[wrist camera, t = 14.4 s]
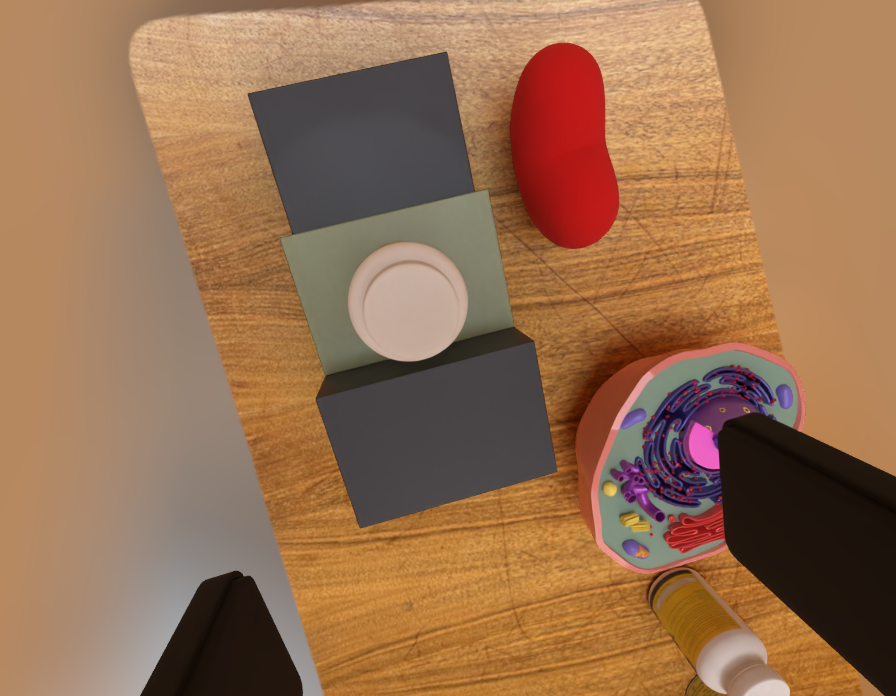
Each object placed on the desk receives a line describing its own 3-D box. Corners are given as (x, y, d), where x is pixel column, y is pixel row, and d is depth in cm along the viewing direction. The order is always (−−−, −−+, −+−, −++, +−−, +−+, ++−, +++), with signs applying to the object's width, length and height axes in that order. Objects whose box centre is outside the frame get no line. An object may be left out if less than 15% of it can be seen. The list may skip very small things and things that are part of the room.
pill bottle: (633, 592, 45) (713, 709, 34) (679, 553, 45) (776, 657, 34) (667, 622, 47) (753, 742, 36) (711, 585, 47) (813, 694, 35)
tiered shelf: (367, 445, 37) (359, 529, 26) (260, 107, 29) (189, 35, 19) (510, 406, 38) (557, 472, 27) (441, 68, 30) (469, -21, 20)
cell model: (508, 475, 40) (554, 565, 29) (625, 285, 36) (726, 306, 26) (646, 536, 44) (731, 635, 33) (762, 369, 40) (899, 418, 30)
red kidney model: (575, 236, 35) (646, 236, 25) (512, 254, 34) (560, 261, 25) (548, 79, 32) (618, 10, 22) (478, 97, 31) (519, 35, 22)
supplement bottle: (462, 299, 28) (503, 334, 18) (389, 344, 28) (391, 403, 18) (417, 222, 26) (435, 214, 16) (340, 270, 26) (312, 290, 16)
